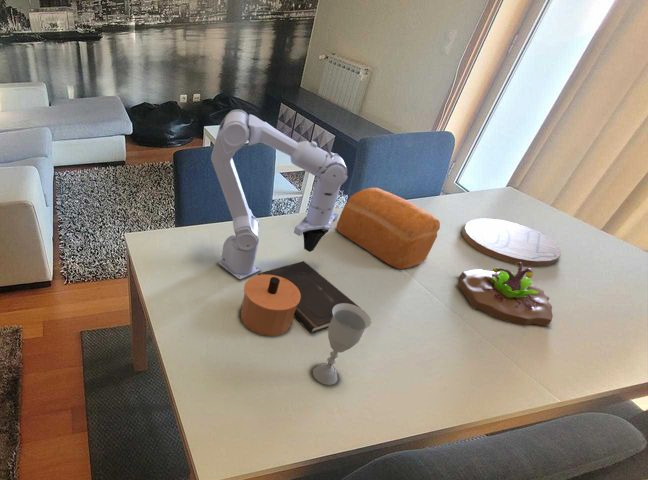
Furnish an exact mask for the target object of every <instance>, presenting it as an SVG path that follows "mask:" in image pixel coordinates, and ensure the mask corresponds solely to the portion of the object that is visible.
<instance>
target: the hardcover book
mask: <svg viewBox="0 0 648 480" xmlns="http://www.w3.org/2000/svg"><path fill="white" fill-rule="evenodd" d="M257 275H275V276H279V277H282V278H285V279H287V280H289V281H290V282H292V283H293V284H294V285H295V286H296V287H297V288H298V289H299V291H300V294H301V299H300V302H299V304H298V305H297V307H296V310H295V313H294V317H295V319H297V321H299V323H300V324H301V325H303V326H304V328H305V329H307V331H308V332H309V333H310V334H315V333H317V332H321V331H323V330H328V327H329V324H330V322H331V319H332V317H333V313H332V309H333V308H334V306H336V305H337V304H341V303H347V304H352V305H355V306H357V307H359V308H361V307H360V306H359V305H358V304H357V303H355V302H354V301H353V300H351V298H350V297H348V296H347V295H345V294H344V293H343V291H340V289H338V288H337V287H336V286H335V285H333V284H332V283H331V282H330V281H329V280H327V279H326V278H325V277H324V276H323V275H321V274H320V273H319V272H318V271H316V270H315V269H314V267H312V266H311V265H309V264H308V263H307V262H306V261H305V260H302V261H297V262H295V263H292V264H287V265H283V266H281V267H276V268H273V269H269V270H266V271H262V272H258V274H257Z"/></svg>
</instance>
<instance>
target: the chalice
mask: <svg viewBox="0 0 648 480" xmlns="http://www.w3.org/2000/svg"><path fill="white" fill-rule="evenodd" d="M359 307H360V306H359ZM359 307H357V306H355V305H352V304H347V303H341V304H337V305H336V306H334V308H333V309H332V313H333V317H332V319H331V322H330V324H329V327H328V328H327V337H328V341H329V345H330V348H331V349H332V351H331V352H330V353H329V355H330V357H329V356H328V357H327V359H326V361H327V363H325V362H323V363H320V364H319V365H317V366H316V367H314V369H313V371H312V374H313V377H314V378H315V379H316V381H318V382H319V383H321V384H323V385H326V386H328V385H330V386H331V385H334V384H336V383H337V381H338V373H337V370H336V368H335V367H334V365H335V364H336V363H337V361H336V359H337V358H338V357H339V353H344V352H346V351H348V350H350V349H352V348H353V347H354V346H356V345H357V344H359V342H360V341H361V340H360V339H361V338H362V335H363V333H364V332H365V330H366V329H368V328H369V327H370V326H371V324H372V320H371V317H370V315H369V314H368V313H367V311H365V310H364V309H363V308H362V307H360V308H359Z"/></svg>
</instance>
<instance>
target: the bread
mask: <svg viewBox="0 0 648 480" xmlns="http://www.w3.org/2000/svg"><path fill="white" fill-rule="evenodd" d="M337 220H338V221H337V223H336V226H335V227H336V228H335V230H336V231H337V232H338V233H340V234H341V235H343V236H344V237H346V238H347V239H349V240H350V241H352V242H353V243H355V244H357V245H358V246H360V247H361V248H363V249H365V250H366V251H367V252H369V253H370V254H372V255H373V256H375V257H377V259H380V260H381V261H382V262H384V263H386V264H388V265H389V266H391V267H393V268H395V269H399V270H402V269H408V268H412V267H415V266H418V265H420V264H421V263H423V262H424V261H426V259H428V258H427V257H428V255H429V254H430V252H431V250H432V248H433V246H434V244H435V242H436V240H437V238H438V232H439V230H440V229H441V221H440V220H439V219H438V218H437V217H435V216H434V215H433V214H432V213H430V212H428V211H426V210H425V209H423V208H421V207H419V206H417V205H416V204H415V203H412V202H410V201H409V200H407V199H405V198H403V197H400V196H398V195H396V194H394V193H391V192H389V191H386V190H383V189H381V188H379V187H368V188H365V189H361V190H359V191H357V192H354V194H352V195H351V196H350V197H348V200H347V203H346V204H345V205H344V206H343V208H342V211H341V212H340V215H339V217H338V219H337Z"/></svg>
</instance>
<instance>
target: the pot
mask: <svg viewBox="0 0 648 480" xmlns="http://www.w3.org/2000/svg"><path fill="white" fill-rule="evenodd" d="M243 293H244V294H243V298H242V303H241V309H240V319H241V322H242V323H243V324H244V326H245V327H246V328H247V329H249V330H250V331H252V332H254V333H256V334H258V335H261V336H265V337H266V336H267V337H268V336H269V337H275V336H279V335H283V334H284V333H286V332H287V331H289V329H290V327H291V325H292V323H293V320H294V317H295V316H294V313H295V310H296V307H297V306H296V307H294V308H293V309H290V310H287V311H270V310H266V309H263V308H260V307H258V306H256V305H255V304H253V303H252V302H251V301H250V300H249V299H248V298H247V297H246V295H245V292H243Z"/></svg>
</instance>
